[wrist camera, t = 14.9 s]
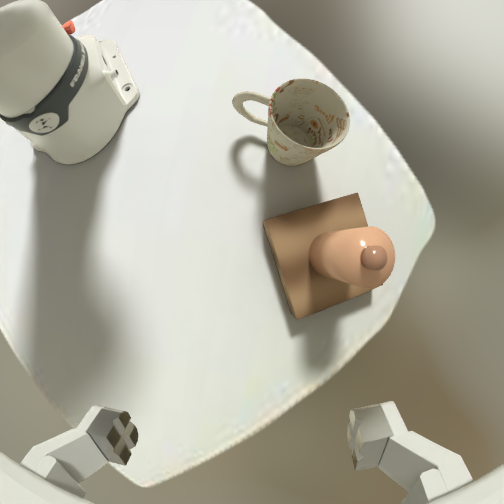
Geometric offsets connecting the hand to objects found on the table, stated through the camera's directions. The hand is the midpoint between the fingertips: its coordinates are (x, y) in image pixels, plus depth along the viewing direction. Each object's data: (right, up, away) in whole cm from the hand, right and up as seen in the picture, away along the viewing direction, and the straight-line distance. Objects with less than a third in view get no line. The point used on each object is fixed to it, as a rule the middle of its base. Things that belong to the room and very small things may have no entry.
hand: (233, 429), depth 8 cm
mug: (+4, +21, +26) cm, 34 cm away
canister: (+10, +6, +24) cm, 26 cm away
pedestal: (+9, +6, +27) cm, 29 cm away
